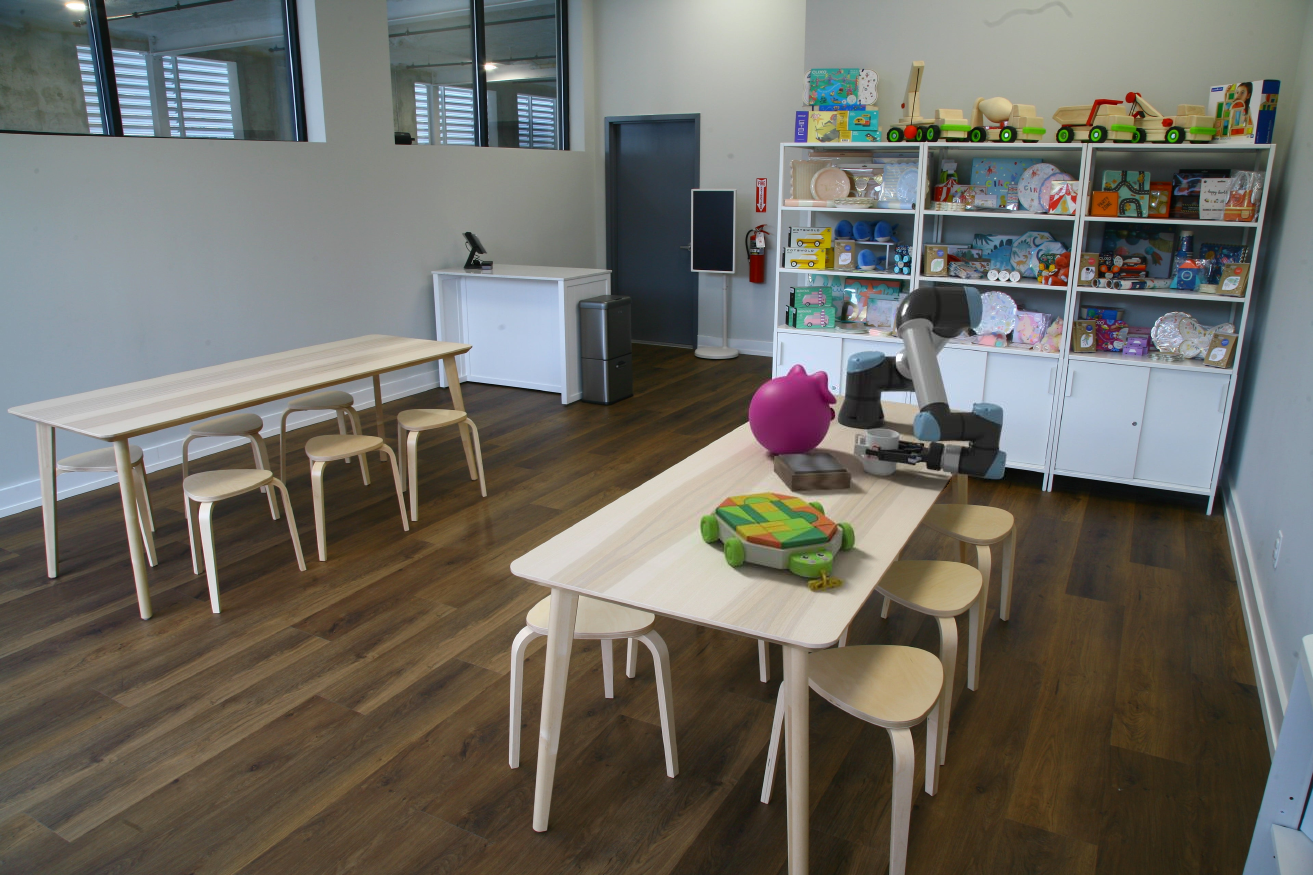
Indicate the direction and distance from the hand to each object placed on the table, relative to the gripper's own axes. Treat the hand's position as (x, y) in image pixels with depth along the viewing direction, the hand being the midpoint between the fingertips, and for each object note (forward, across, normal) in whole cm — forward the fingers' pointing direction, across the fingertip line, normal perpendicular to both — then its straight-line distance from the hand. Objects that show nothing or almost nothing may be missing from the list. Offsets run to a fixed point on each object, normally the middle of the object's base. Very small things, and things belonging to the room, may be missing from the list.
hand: (857, 445), depth 237 cm
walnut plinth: (+8, -16, -6) cm, 19 cm away
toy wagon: (+3, -61, -7) cm, 62 cm away
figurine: (+21, +4, -7) cm, 22 cm away
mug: (-5, 0, -7) cm, 8 cm away
